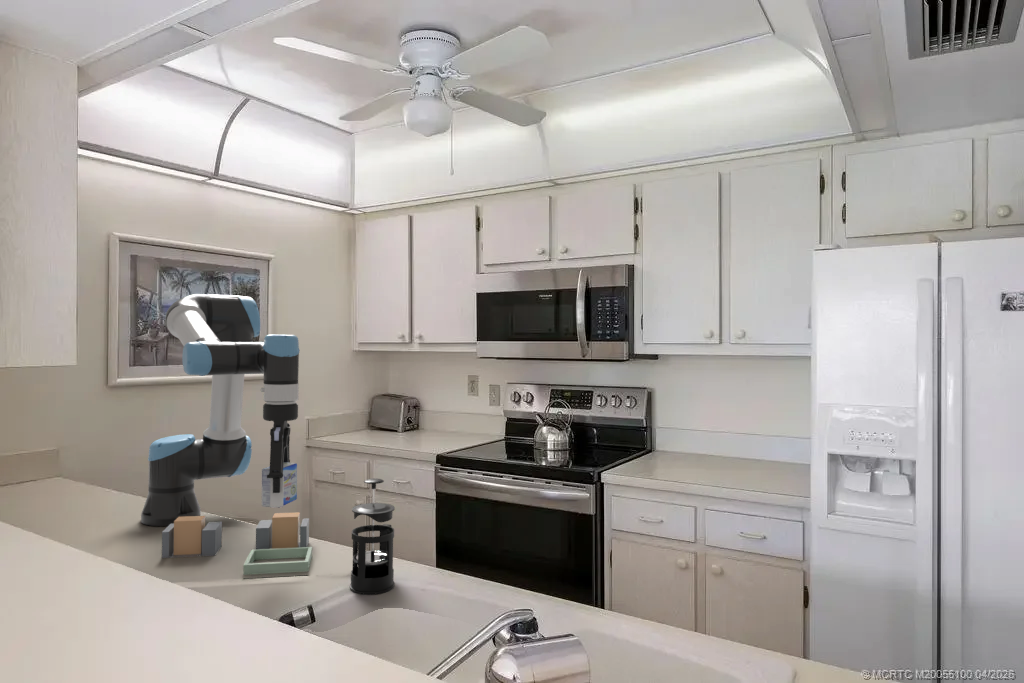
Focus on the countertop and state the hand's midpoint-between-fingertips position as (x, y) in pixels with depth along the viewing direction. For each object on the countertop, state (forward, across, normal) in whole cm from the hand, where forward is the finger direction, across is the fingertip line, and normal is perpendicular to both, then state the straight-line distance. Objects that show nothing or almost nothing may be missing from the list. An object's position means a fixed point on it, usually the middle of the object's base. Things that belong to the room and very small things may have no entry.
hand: (279, 501), depth 154 cm
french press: (+16, +14, +21) cm, 30 cm away
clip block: (+15, -12, -11) cm, 23 cm away
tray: (+16, 0, 0) cm, 16 cm away
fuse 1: (+14, -12, -22) cm, 29 cm away
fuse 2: (+14, -12, 0) cm, 19 cm away
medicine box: (+1, 0, 0) cm, 1 cm away
